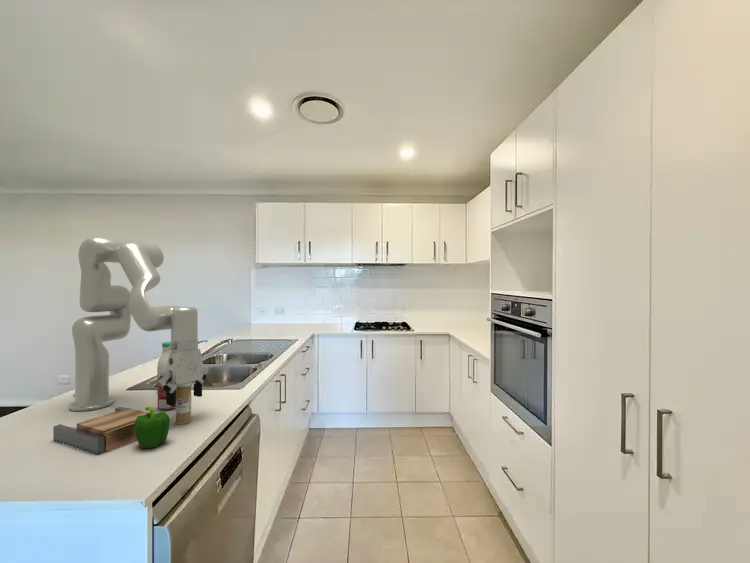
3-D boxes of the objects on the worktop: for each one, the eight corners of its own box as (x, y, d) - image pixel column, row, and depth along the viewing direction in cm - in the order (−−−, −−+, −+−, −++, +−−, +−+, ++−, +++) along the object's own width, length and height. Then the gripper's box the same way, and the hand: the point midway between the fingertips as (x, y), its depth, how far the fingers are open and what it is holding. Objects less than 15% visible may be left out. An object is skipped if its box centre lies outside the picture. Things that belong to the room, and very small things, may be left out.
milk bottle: (183, 391, 151) (184, 341, 151) (167, 396, 143) (167, 344, 143) (169, 389, 153) (169, 340, 153) (152, 394, 146) (152, 343, 146)
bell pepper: (173, 445, 101) (173, 408, 101) (137, 454, 96) (138, 415, 96) (165, 435, 108) (166, 400, 108) (131, 443, 102) (132, 406, 102)
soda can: (169, 411, 127) (170, 376, 127) (152, 410, 128) (153, 375, 128) (183, 405, 134) (184, 371, 134) (167, 403, 135) (167, 370, 135)
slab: (76, 432, 102) (76, 423, 102) (128, 415, 115) (128, 408, 115) (103, 440, 97) (103, 431, 97) (154, 422, 110) (154, 413, 110)
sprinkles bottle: (173, 424, 115) (173, 381, 115) (178, 419, 120) (178, 377, 120) (189, 424, 116) (189, 380, 116) (193, 418, 121) (193, 377, 121)
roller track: (53, 440, 103) (53, 422, 103) (120, 419, 120) (120, 403, 120) (98, 455, 95) (98, 435, 95) (163, 429, 111) (163, 413, 111)
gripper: (167, 351, 109) (168, 410, 108) (215, 342, 124) (215, 394, 124) (150, 349, 112) (150, 407, 111) (198, 341, 127) (199, 391, 127)
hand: (184, 400), depth 118 cm, fingers open, 9 cm apart
